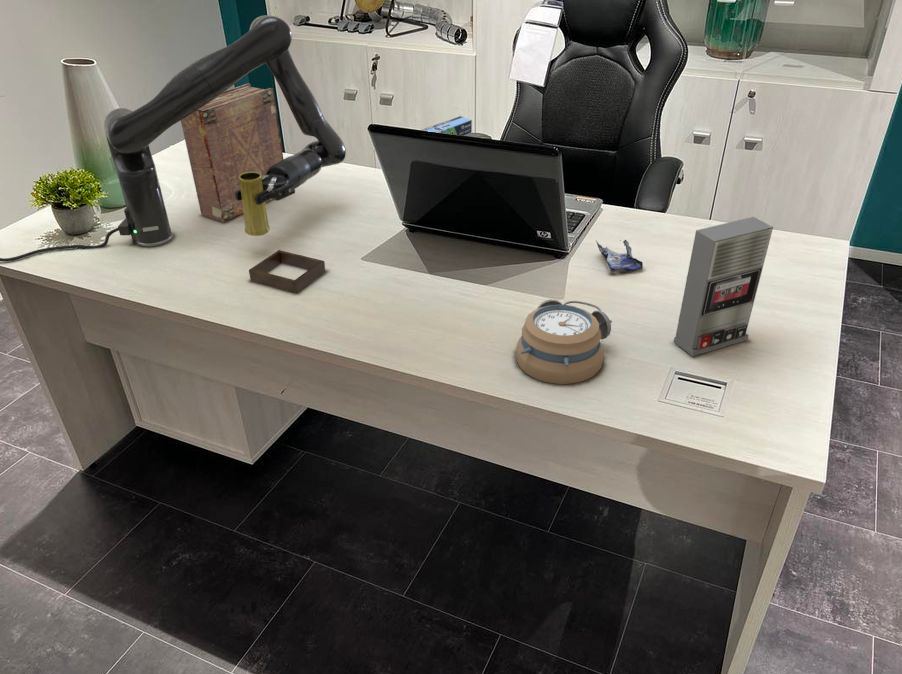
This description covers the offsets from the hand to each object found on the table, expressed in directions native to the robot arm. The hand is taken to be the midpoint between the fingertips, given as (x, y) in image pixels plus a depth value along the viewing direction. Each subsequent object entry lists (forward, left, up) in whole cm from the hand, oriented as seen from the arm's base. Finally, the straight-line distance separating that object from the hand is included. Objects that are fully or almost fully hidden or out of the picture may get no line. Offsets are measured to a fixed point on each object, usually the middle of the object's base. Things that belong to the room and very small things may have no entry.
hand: (246, 198), depth 182 cm
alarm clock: (+73, -41, -16) cm, 85 cm away
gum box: (+45, +30, -16) cm, 57 cm away
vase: (+1, +2, -9) cm, 10 cm away
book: (-11, +33, -16) cm, 39 cm away
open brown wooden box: (+10, -10, -16) cm, 21 cm away
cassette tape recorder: (+103, -37, -16) cm, 110 cm away
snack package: (+89, -3, -16) cm, 90 cm away
